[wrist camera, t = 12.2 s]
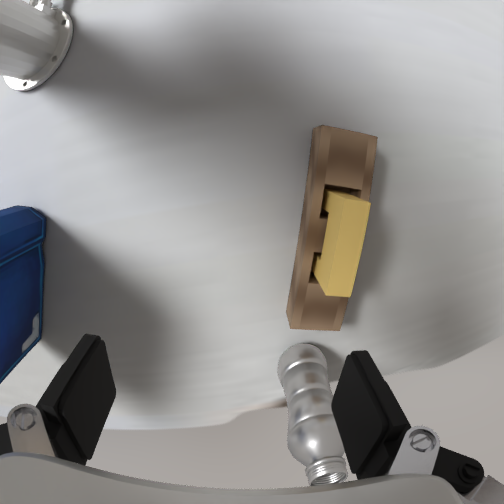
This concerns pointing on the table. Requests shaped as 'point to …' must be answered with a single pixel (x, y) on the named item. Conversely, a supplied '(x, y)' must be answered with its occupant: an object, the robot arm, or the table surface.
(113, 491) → the robot arm
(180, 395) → the table surface
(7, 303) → the book
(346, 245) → the yellow notched flat block
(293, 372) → the plastic bottle
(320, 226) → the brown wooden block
